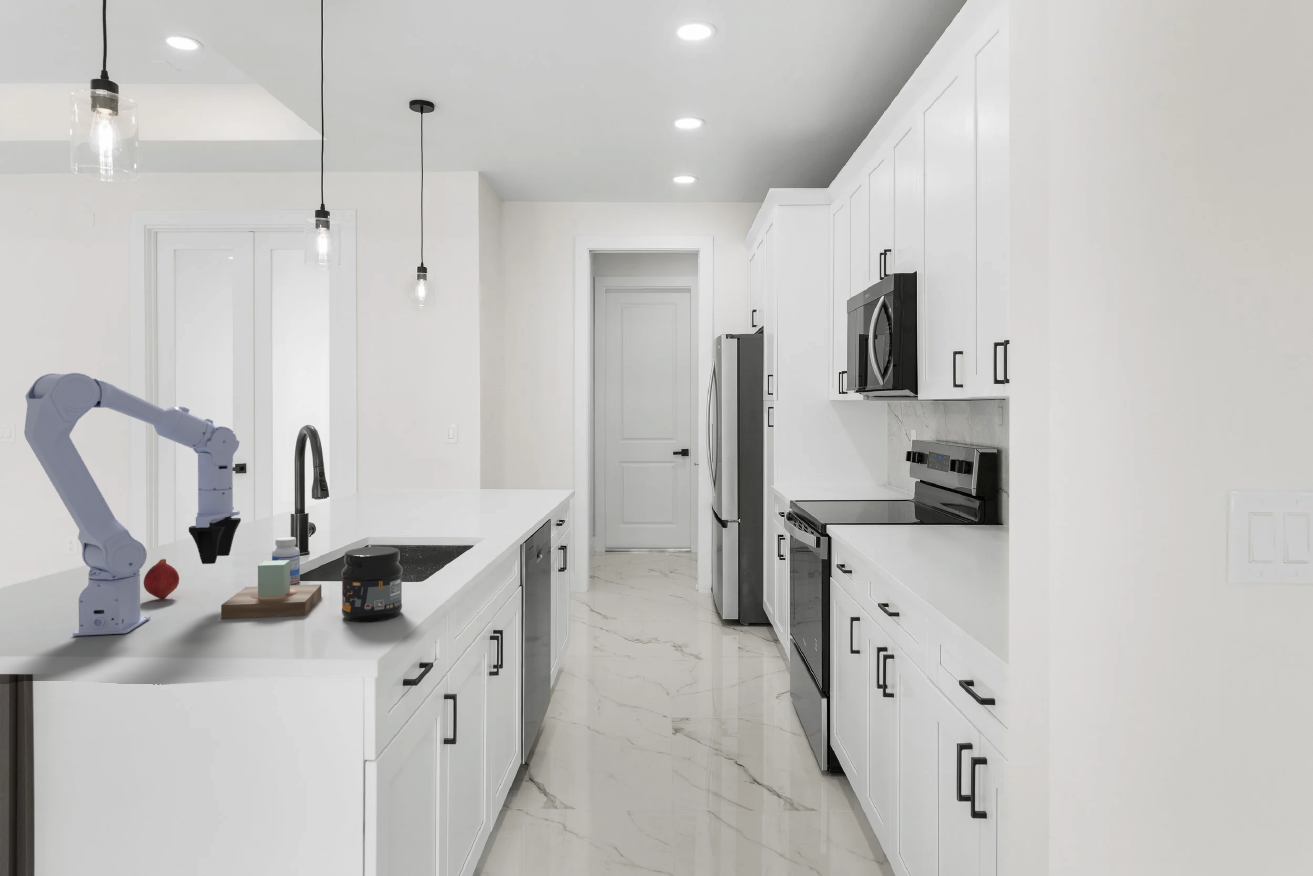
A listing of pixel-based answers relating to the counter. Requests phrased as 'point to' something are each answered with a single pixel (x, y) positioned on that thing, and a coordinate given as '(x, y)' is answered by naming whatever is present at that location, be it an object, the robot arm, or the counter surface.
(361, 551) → the supplement container
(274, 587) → the sage block
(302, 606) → the walnut base
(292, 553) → the pill bottle
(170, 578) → the onion
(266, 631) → the counter surface
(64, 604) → the counter surface
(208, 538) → the robot arm
